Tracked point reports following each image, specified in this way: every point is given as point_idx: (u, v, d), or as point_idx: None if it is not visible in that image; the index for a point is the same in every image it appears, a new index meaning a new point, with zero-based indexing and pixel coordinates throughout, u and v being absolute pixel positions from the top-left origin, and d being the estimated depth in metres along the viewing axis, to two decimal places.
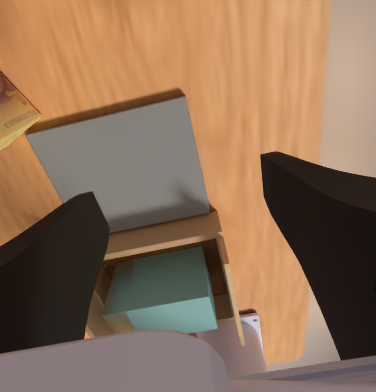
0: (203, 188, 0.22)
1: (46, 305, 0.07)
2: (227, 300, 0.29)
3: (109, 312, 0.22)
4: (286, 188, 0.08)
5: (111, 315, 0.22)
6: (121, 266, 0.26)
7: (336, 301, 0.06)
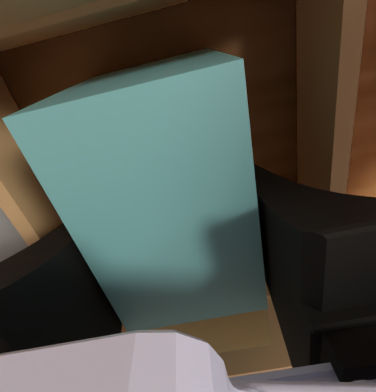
0: None
1: (90, 297, 0.07)
2: None
3: None
4: None
5: None
6: None
7: (284, 310, 0.07)
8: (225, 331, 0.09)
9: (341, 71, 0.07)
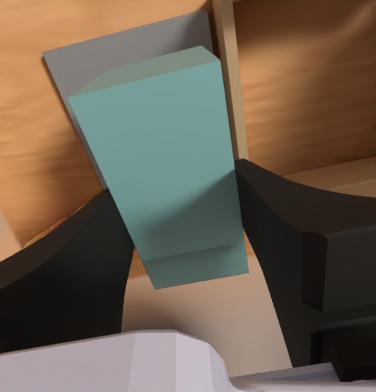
0: (163, 23, 0.15)
1: (90, 297, 0.07)
2: None
3: None
4: (246, 196, 0.08)
5: (154, 278, 0.12)
6: None
7: (284, 310, 0.07)
8: (214, 260, 0.12)
9: None
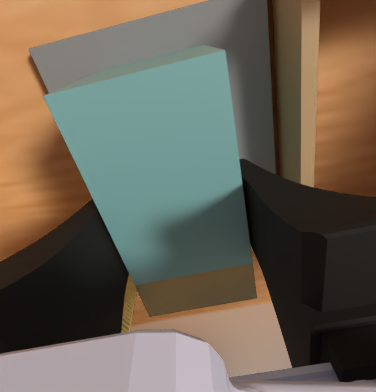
0: (203, 6, 0.10)
1: (90, 297, 0.07)
2: None
3: None
4: (246, 196, 0.08)
5: (149, 304, 0.11)
6: None
7: (284, 310, 0.07)
8: (217, 284, 0.10)
9: None
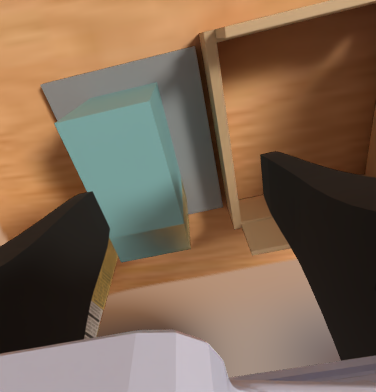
0: (155, 59, 0.16)
1: (46, 305, 0.07)
2: None
3: None
4: (286, 188, 0.08)
5: (120, 253, 0.16)
6: None
7: (336, 301, 0.06)
8: (163, 238, 0.16)
9: None
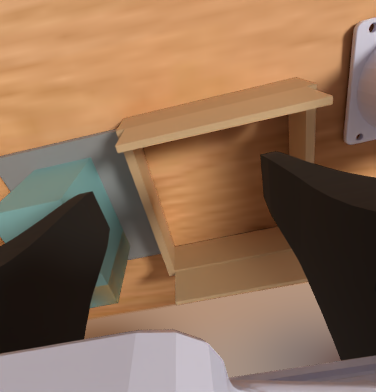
0: (86, 140, 0.19)
1: (46, 305, 0.07)
2: None
3: None
4: (286, 188, 0.08)
5: None
6: None
7: (336, 301, 0.06)
8: None
9: (307, 140, 0.17)
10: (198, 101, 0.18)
